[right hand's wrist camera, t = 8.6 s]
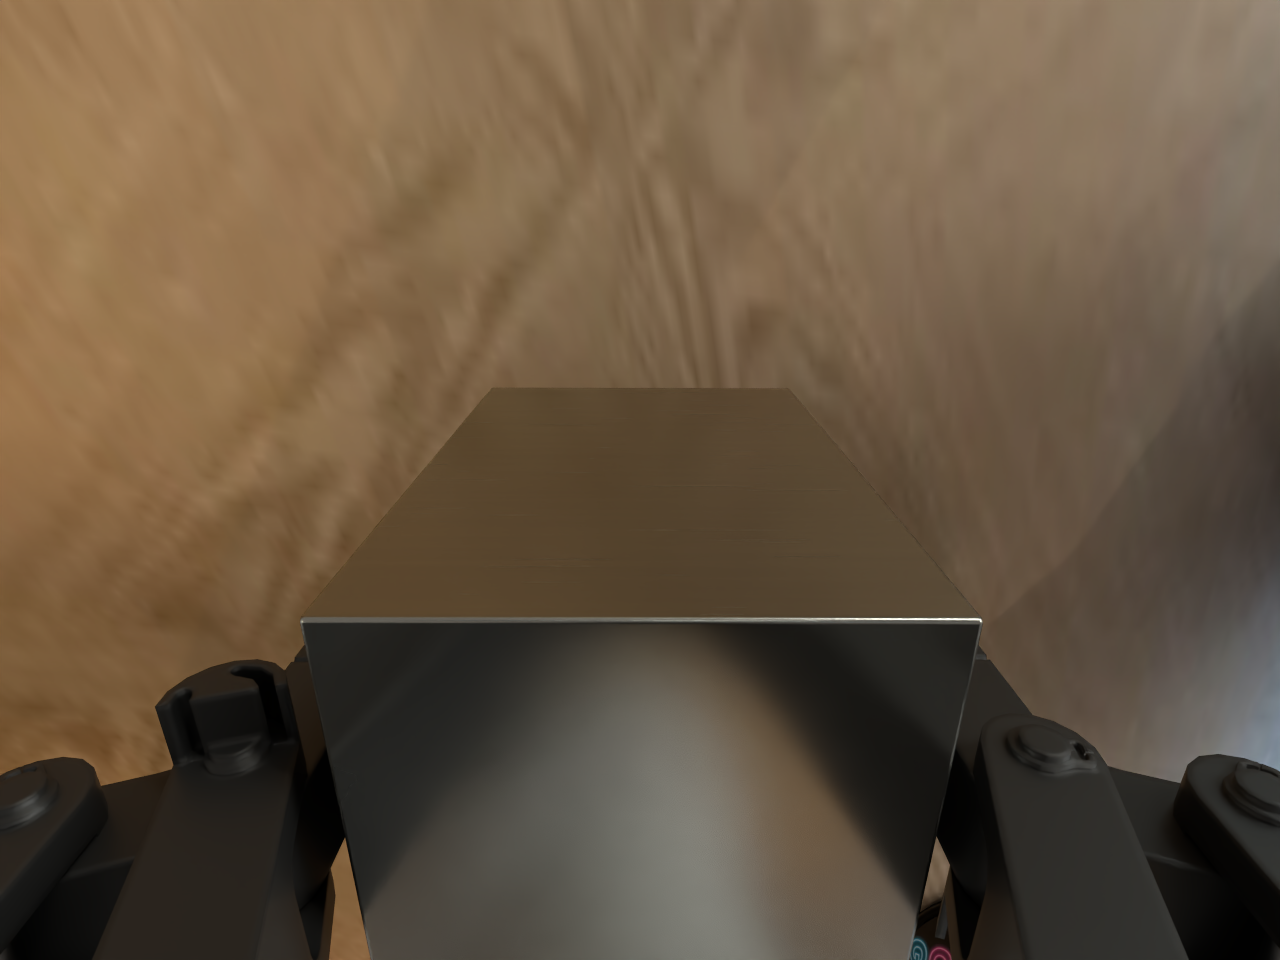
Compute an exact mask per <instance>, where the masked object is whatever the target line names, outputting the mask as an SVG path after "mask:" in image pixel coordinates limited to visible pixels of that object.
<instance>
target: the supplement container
mask: <svg viewBox="0 0 1280 960" xmlns="http://www.w3.org/2000/svg"><path fill="white" fill-rule="evenodd" d="M941 903H942V901H941V902H938V903H936V904H934V905H932V906H930V907H928V908H926V909H925V910H923V911H922V912H920V913H919V918H918V922H917V927H916V931H915V936H914V941H913V945H912V950H911V954H910V959H909V960H951V950H950V941H949V931H948V926H947V931H946V935H945V939H941V938H937V937H935V933H936V927H937V920H938V916H939V912H940V907H941Z"/></svg>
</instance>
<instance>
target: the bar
mask: <svg viewBox="0 0 1280 960" xmlns="http://www.w3.org/2000/svg"><path fill="white" fill-rule="evenodd" d="M300 624H301V629H302V634H303V638H304V643H305V648H306V653H307V658H308V662H309V667H310V672H311V677H312V681H313V686H314V691H315V696H316V700H317V705H318V710H319V715H320V720H321V724H322V729H323V734H324V739H325V743H326V748H327V753H328V758H329V762H330V767H331V772H332V777H333V781H334V786H335V791H336V796H337V801H338V805H339V810H340V815H341V820H342V824H343V829H344V834H345V839H346V843H347V848H348V853H349V858H350V862H351V867H352V872H353V877H354V882H355V886H356V891H357V896H358V901H359V905H360V910H361V915H362V920H363V924H364V929H365V934H366V939H367V943H368V948H369V953H370V958H371V960H909V959H910V954H911V950H912V945H913V941H914V936H915V931H916V927H917V922H918V918H919V913H920V909H921V904H922V899H923V895H924V890H925V886H926V881H927V877H928V872H929V867H930V863H931V858H932V854H933V849H934V844H935V840H936V835H937V831H938V826H939V822H940V817H941V812H942V808H943V803H944V799H945V794H946V790H947V785H948V780H949V776H950V771H951V767H952V762H953V758H954V753H955V748H956V744H957V739H958V735H959V730H960V726H961V721H962V716H963V712H964V707H965V703H966V698H967V693H968V689H969V684H970V680H971V675H972V671H973V666H974V661H975V657H976V652H977V648H978V643H979V639H980V634H981V629H982V625H983V622H982V618H981V617H980V616H979V614H978V613H977V612H976V611H975V610H974V608H973V607H972V606H971V605H970V604H969V602H968V601H967V600H966V599H965V598H964V596H963V595H962V594H961V593H960V592H959V590H958V589H957V588H956V587H955V586H954V585H953V583H952V582H951V581H950V580H949V579H948V577H947V576H946V575H945V574H944V573H943V571H942V570H941V569H940V568H939V567H938V565H937V564H936V563H935V562H934V561H933V559H932V558H931V557H930V556H929V555H928V554H927V552H926V551H925V550H924V549H923V548H922V546H921V545H920V544H919V543H918V542H917V540H916V539H915V538H914V537H913V536H912V534H911V533H910V532H909V531H908V530H907V529H906V527H905V526H904V525H903V524H902V523H901V521H900V520H899V519H898V518H897V517H896V515H895V514H894V513H893V512H892V511H891V509H890V508H889V507H888V506H887V505H886V503H885V502H884V501H883V500H882V499H881V498H880V496H879V495H878V494H877V493H876V492H875V490H874V489H873V488H872V487H871V486H870V484H869V483H868V482H867V481H866V480H865V478H864V477H863V476H862V475H861V474H860V472H859V471H858V470H857V469H856V468H855V467H854V465H853V464H852V463H851V462H850V461H849V459H848V458H847V457H846V456H845V455H844V453H843V452H842V451H841V450H840V449H839V447H838V446H837V445H836V444H835V443H834V441H833V440H832V439H831V438H830V437H829V436H828V434H827V433H826V432H825V431H824V430H823V428H822V427H821V426H820V425H819V424H818V422H817V421H816V420H815V419H814V418H813V416H812V415H811V414H810V413H809V412H808V410H807V409H806V408H805V407H804V406H803V405H802V403H801V402H800V401H799V400H798V399H797V397H796V396H795V395H794V394H793V393H792V391H791V390H790V389H775V388H491V389H490V391H489V392H488V393H487V394H486V395H485V397H484V398H483V399H482V400H481V401H480V403H479V404H478V405H477V406H476V407H475V409H474V410H473V411H472V412H471V413H470V415H469V416H468V417H467V418H466V419H465V421H464V422H463V423H462V424H461V425H460V427H459V428H458V429H457V430H456V431H455V433H454V434H453V435H452V436H451V437H450V439H449V440H448V441H447V442H446V443H445V445H444V446H443V447H442V448H441V449H440V451H439V452H438V453H437V454H436V455H435V457H434V458H433V459H432V460H431V461H430V463H429V464H428V465H427V466H426V467H425V469H424V470H423V471H422V472H421V473H420V475H419V476H418V477H417V478H416V479H415V481H414V482H413V483H412V484H411V485H410V487H409V488H408V489H407V490H406V491H405V493H404V494H403V495H402V496H401V497H400V499H399V500H398V501H397V502H396V503H395V505H394V506H393V507H392V508H391V509H390V511H389V512H388V513H387V514H386V515H385V517H384V518H383V519H382V520H381V521H380V523H379V524H378V525H377V526H376V527H375V529H374V530H373V531H372V532H371V533H370V535H369V536H368V537H367V538H366V539H365V541H364V542H363V543H362V544H361V545H360V547H359V548H358V549H357V550H356V551H355V553H354V554H353V555H352V556H351V557H350V559H349V560H348V561H347V562H346V563H345V565H344V566H343V567H342V568H341V569H340V571H339V572H338V573H337V574H336V575H335V577H334V578H333V579H332V580H331V581H330V583H329V584H328V585H327V586H326V587H325V589H324V590H323V591H322V592H321V593H320V595H319V596H318V597H317V598H316V599H315V601H314V602H313V603H312V604H311V605H310V607H309V608H308V609H307V610H306V611H305V613H304V614H303V615H302V616H301V620H300Z"/></svg>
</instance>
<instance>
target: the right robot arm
mask: <svg viewBox="0 0 1280 960" xmlns="http://www.w3.org/2000/svg"><path fill="white" fill-rule="evenodd" d="M155 708H156V712H157V715H158V718H159V721H160V724H161V727H162V730H163V733H164V736H165V739H166V743H167V746H168V749H169V752H170V755H171V758H172V761H173V764H174V766H173V768H172V769H171V770H168V771H164V772H161V773H157V774H153V775H148V776H144V777H139V778H135V779H130V780H126V781H122V782H117V783H113V784H108V785H104V786H101V785H100V782H99V780H98V777H97V774H96V772H95V769H94V767H93V766H91V765H90V764H89V763H87V762H86V761H85V760H83V759H77V758H68V757H60V758H54V759H48V760H42V761H37V762H34V763H31V764H28V765H24V766H22V767H18V768H16V769H13V770H11V771H8V772H6V773H4V774H3V775H1V776H0V960H329V952H330V943H331V933H332V924H333V914H334V904H335V889H334V882H333V877H332V873H331V866H332V864H333V862H334V859H335V857H336V855H337V853H338V851H339V849H340V847H341V845H342V842H343V840H344V838H345V834H344V829H343V824H342V820H341V815H340V810H339V805H338V801H337V796H336V791H335V786H334V781H333V777H332V772H331V767H330V762H329V758H328V753H327V748H326V743H325V739H324V734H323V729H322V724H321V720H320V715H319V710H318V705H317V700H316V696H315V691H314V686H313V681H312V677H311V672H310V667H309V662H308V658H307V653H306V648H305V645H304V646H303V647H302V649H301V650H300V651H299V653H298V654H297V655H296V657H295V661H294V662H291V663H290V664H289V666H288V667H287V668H286V670H285V671H284V670H283V669H282V668H280V667H279V666H278V665H277V664H276V663H273V662H268V661H263V660H258V659H256V660H240V661H233V662H229V663H225V664H221V665H217V666H213V667H210V668H208V669H206V670H203V671H201V672H199V673H197V674H194V675H192V676H190V677H188V678H186V679H185V680H183V681H182V682H180V683H179V684H178V685H176V686H175V687H173V688H172V689H170V690H169V691H168V692H167V693H166V694H165V695H164V696H163V698H162V699H161V700H160V701H159V703H158V704H157V705H156V706H155ZM936 836H937V838H938V840H939V842H940V844H941V847H942V849H943V851H944V853H945V855H946V857H947V859H948V861H949V863H950V868H949V873H948V877H947V881H946V886H945V890H944V894H943V899H942V903H941V907H940V912H939V916H938V920H937V927H936V933H935V937H937V938H941V939H945V935H946V931H947V926H948V931H949V941H950V950H951V960H1280V772H1279V771H1278V770H1276V769H1273V768H1271V767H1268V766H1266V765H1263V764H1259V763H1258V762H1254V761H1251V760H1248V759H1245V758H1239V757H1233V756H1227V755H1221V754H1215V755H1206V756H1199V757H1197V758H1196V759H1195V760H1193V761H1192V762H1191V763H1189V764H1188V766H1187V768H1186V771H1185V773H1184V776H1183V779H1182V781H1181V783H1176V782H1172V781H1167V780H1163V779H1159V778H1154V777H1150V776H1145V775H1141V774H1136V773H1132V772H1127V771H1123V770H1119V769H1116V768H1113V767H1109V766H1107V764H1106V763H1105V761H1104V760H1103V758H1102V757H1101V756H1100V754H1099V753H1098V751H1097V750H1096V748H1095V747H1093V746H1092V745H1091V744H1090V743H1088V742H1087V741H1086V740H1085V739H1083V738H1082V737H1081V736H1080V735H1078V734H1077V733H1076V732H1074V731H1072V730H1070V729H1068V728H1066V727H1064V726H1062V725H1060V724H1058V723H1056V722H1054V721H1051V720H1047V719H1044V718H1040V717H1037V716H1034V715H1032V714H1031V712H1030V711H1029V710H1028V708H1027V707H1026V706H1025V705H1024V703H1023V702H1022V701H1021V699H1020V698H1019V697H1018V696H1017V694H1016V693H1015V692H1014V690H1013V689H1012V688H1011V686H1010V685H1009V684H1008V683H1007V681H1006V680H1005V679H1004V677H1003V676H1002V675H1001V674H1000V672H999V671H998V670H997V668H996V667H995V666H994V665H993V663H992V662H991V661H990V660H987V658H986V654H985V653H984V652H983V650H982V649H981V648H980V647H979V645H978V648H977V652H976V657H975V661H974V666H973V671H972V675H971V680H970V684H969V689H968V693H967V698H966V703H965V707H964V712H963V716H962V721H961V726H960V730H959V735H958V739H957V744H956V748H955V753H954V758H953V762H952V767H951V771H950V776H949V780H948V785H947V790H946V794H945V799H944V803H943V808H942V812H941V817H940V822H939V826H938V831H937V835H936Z"/></svg>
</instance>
